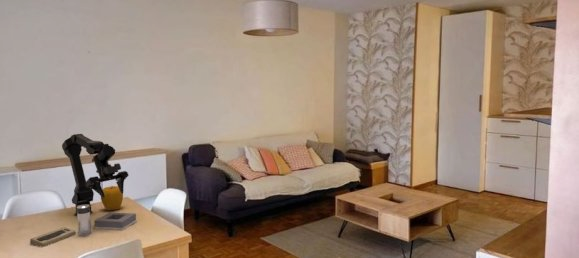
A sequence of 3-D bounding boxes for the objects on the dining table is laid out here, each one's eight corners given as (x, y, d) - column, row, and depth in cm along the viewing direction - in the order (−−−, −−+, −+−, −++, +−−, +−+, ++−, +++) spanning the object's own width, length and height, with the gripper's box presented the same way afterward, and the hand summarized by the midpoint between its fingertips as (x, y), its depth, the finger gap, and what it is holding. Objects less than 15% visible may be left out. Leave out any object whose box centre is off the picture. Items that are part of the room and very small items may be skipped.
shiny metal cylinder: (76, 236, 181) (73, 207, 180) (83, 232, 186) (81, 204, 185) (86, 236, 180) (84, 208, 179) (94, 232, 185) (92, 204, 184)
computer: (42, 248, 169) (42, 240, 169) (30, 245, 172) (29, 237, 172) (76, 235, 183) (75, 228, 183) (63, 233, 187) (63, 226, 186)
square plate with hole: (94, 228, 190) (94, 220, 190) (109, 220, 202) (109, 212, 201) (122, 230, 188) (122, 221, 187) (136, 221, 200) (135, 213, 199)
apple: (100, 213, 213) (99, 189, 212) (102, 207, 223) (101, 184, 222) (123, 211, 217) (122, 187, 215) (124, 205, 227) (123, 182, 225)
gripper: (89, 161, 184) (100, 192, 180) (127, 155, 199) (139, 184, 195) (80, 171, 190) (91, 202, 187) (118, 165, 205) (128, 193, 201)
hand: (113, 195), depth 192 cm, fingers open, 9 cm apart
